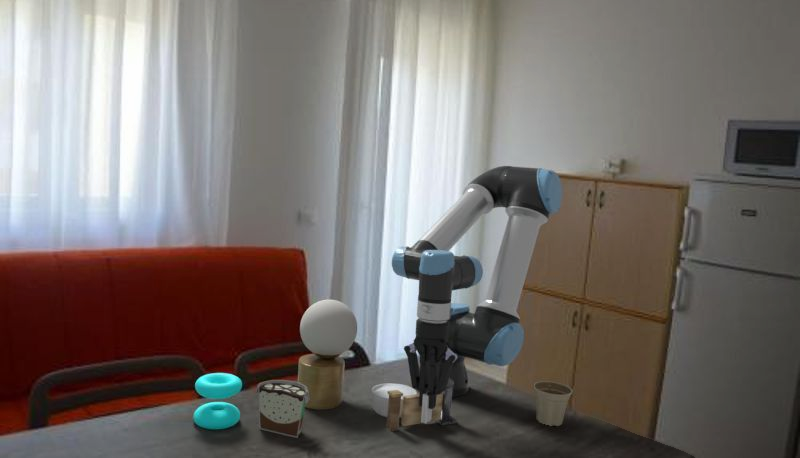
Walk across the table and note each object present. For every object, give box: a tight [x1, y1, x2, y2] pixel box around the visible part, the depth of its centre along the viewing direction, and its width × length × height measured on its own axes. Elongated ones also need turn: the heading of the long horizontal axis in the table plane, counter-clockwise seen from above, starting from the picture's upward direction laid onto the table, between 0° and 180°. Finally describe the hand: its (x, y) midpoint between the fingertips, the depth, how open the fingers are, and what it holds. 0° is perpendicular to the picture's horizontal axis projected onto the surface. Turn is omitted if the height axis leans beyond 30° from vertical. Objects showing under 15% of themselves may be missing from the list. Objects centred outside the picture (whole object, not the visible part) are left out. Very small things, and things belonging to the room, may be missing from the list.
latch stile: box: [385, 390, 403, 432], centre depth 151 cm, size 3×3×9 cm
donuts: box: [193, 372, 243, 430], centre depth 147 cm, size 10×10×10 cm
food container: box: [255, 379, 309, 439], centre depth 146 cm, size 12×6×10 cm, turn 71°
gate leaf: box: [400, 392, 443, 427], centre depth 154 cm, size 10×1×7 cm, turn 123°
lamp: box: [297, 299, 358, 410], centre depth 165 cm, size 15×14×25 cm
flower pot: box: [532, 380, 574, 427], centre depth 163 cm, size 9×9×9 cm
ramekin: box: [371, 383, 418, 419], centre depth 162 cm, size 11×11×5 cm
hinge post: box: [434, 378, 459, 426], centre depth 158 cm, size 4×4×11 cm
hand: (426, 421), depth 151 cm, fingers closed
